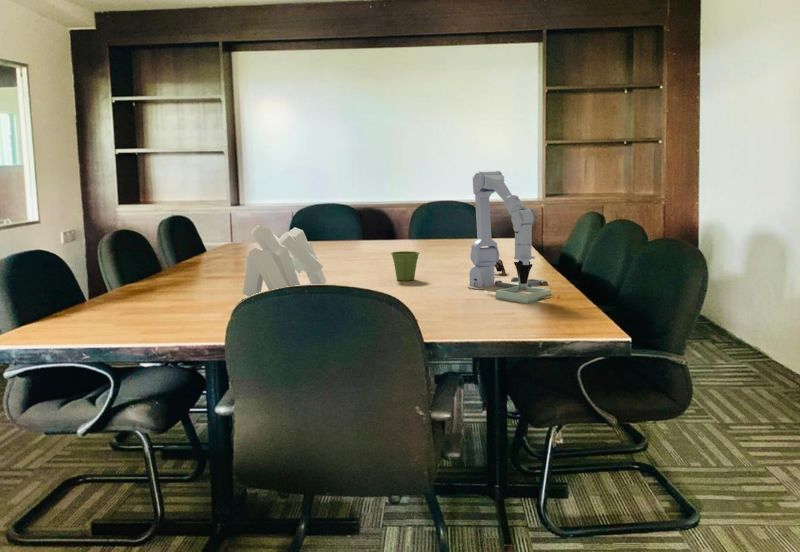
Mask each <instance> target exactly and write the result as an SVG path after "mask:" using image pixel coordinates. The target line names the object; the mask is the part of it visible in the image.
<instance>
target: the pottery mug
mask: <svg viewBox="0 0 800 552" xmlns="http://www.w3.org/2000/svg"><path fill="white" fill-rule="evenodd" d="M494 268H495V269H496V272H500V273H502V276H503V277H504V276H505V275H506V274H507V272H506V269H505V265H504V262H503V259H500V258H499V260H498V262H496V265H494Z"/></svg>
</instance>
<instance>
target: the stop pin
mask: <svg viewBox="0 0 800 552" xmlns="http://www.w3.org/2000/svg"><path fill="white" fill-rule="evenodd" d="M519 290H520V291H521V290H528V281H527V284H521V283H520V278H519Z"/></svg>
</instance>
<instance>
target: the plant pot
mask: <svg viewBox="0 0 800 552" xmlns="http://www.w3.org/2000/svg"><path fill="white" fill-rule="evenodd" d="M419 254H420V251H412V250H411V251H410V250H409V251H408V250H406V251H405V250H404V251H392V252H391V253H390V255H391V256H392V260H393V264H394V271H395V276H396V280H397V281H402V282H404V281H405V282H409V281H414V280H415V276H416V269H417V263H418V260H419Z"/></svg>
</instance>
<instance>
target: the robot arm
mask: <svg viewBox="0 0 800 552" xmlns="http://www.w3.org/2000/svg"><path fill="white" fill-rule="evenodd" d="M472 189H473V195H474V200H475V201H474V202H475V217H476V233H477V234H476V237H477V239H476V240H475V241H474V242H473V243H472V244H471V251H470V255H469V256H470V260H471V262H472V264H473V265H474V266H473V267H472V268H470V270H469V286H471V287H467V289H469V290H477V291H483V292H484V291H486V289H483V288H485V287H491V286H495V267H494V265H496V262H498V260H499V259H500V252H499V248H498V242H496V241H495V240H493V238H492V223H491V221H492V220H491V207H490V197H491V195H492V194H494V193H496V194H497V195H498V196H499V197H500V198H501V199H502V200H503V207H504V208H505V210H506V211H507V212H508V213H509V214H510V216H511V218H510V219H511V220H510V221H511V223H512V229H513V231H514V256H513V259H514V260H517V261H513V264H514V267H515V269H516V272H517V278H518V279H519V278H520V283H521V284H527V281H528V279H529V275H530V272H531V269H532V268H533V264H532V263H531V260H534V259H536V256H533V255H532V244H533V243H532V241H533V240H532V239H533V238H532V236H533V233H532V229H533V228H532V227H533V225H534V224H535V223H536V213H535V212H534V210H533V209H532V208H528V207H526V205H524V203H523V202H522V201H521V199H520V197H519V196H518V195H515V194H512V192H511V191H510V190H509V188H508V186H507V185H506V183H505V176H504V175H503V173H502V172H501V171H500V170H496V171H493V170H492V171H480V170H479V171H476V172H475V173H474V175H473V176H472ZM474 287H479V288H474Z"/></svg>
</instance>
